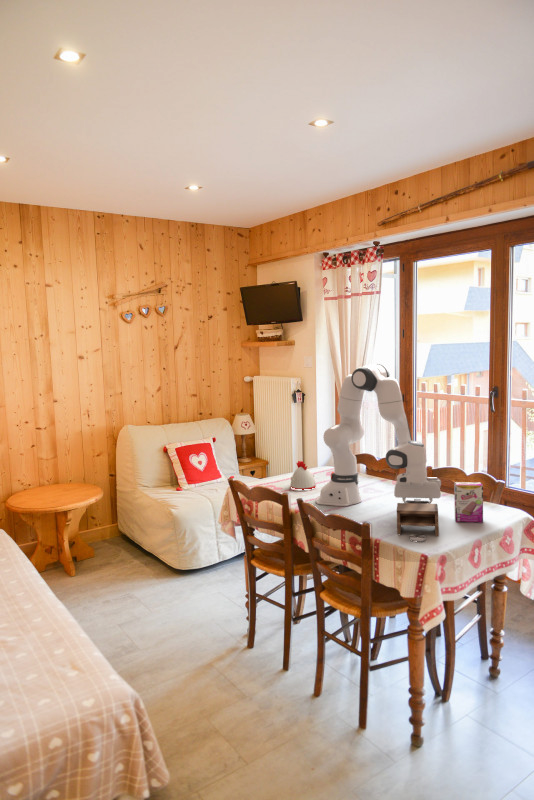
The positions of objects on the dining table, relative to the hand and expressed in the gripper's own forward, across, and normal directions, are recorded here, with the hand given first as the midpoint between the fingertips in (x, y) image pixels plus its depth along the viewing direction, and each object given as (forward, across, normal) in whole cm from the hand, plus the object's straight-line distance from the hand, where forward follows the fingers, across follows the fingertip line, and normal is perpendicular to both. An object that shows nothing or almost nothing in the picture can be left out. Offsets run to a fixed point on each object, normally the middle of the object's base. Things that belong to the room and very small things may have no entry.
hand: (417, 507), depth 245 cm
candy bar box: (+3, -21, +9) cm, 23 cm away
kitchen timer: (+3, +61, -39) cm, 72 cm away
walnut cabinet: (+3, 0, +24) cm, 24 cm away
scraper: (+3, 0, +7) cm, 8 cm away
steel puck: (+3, 0, +33) cm, 34 cm away
